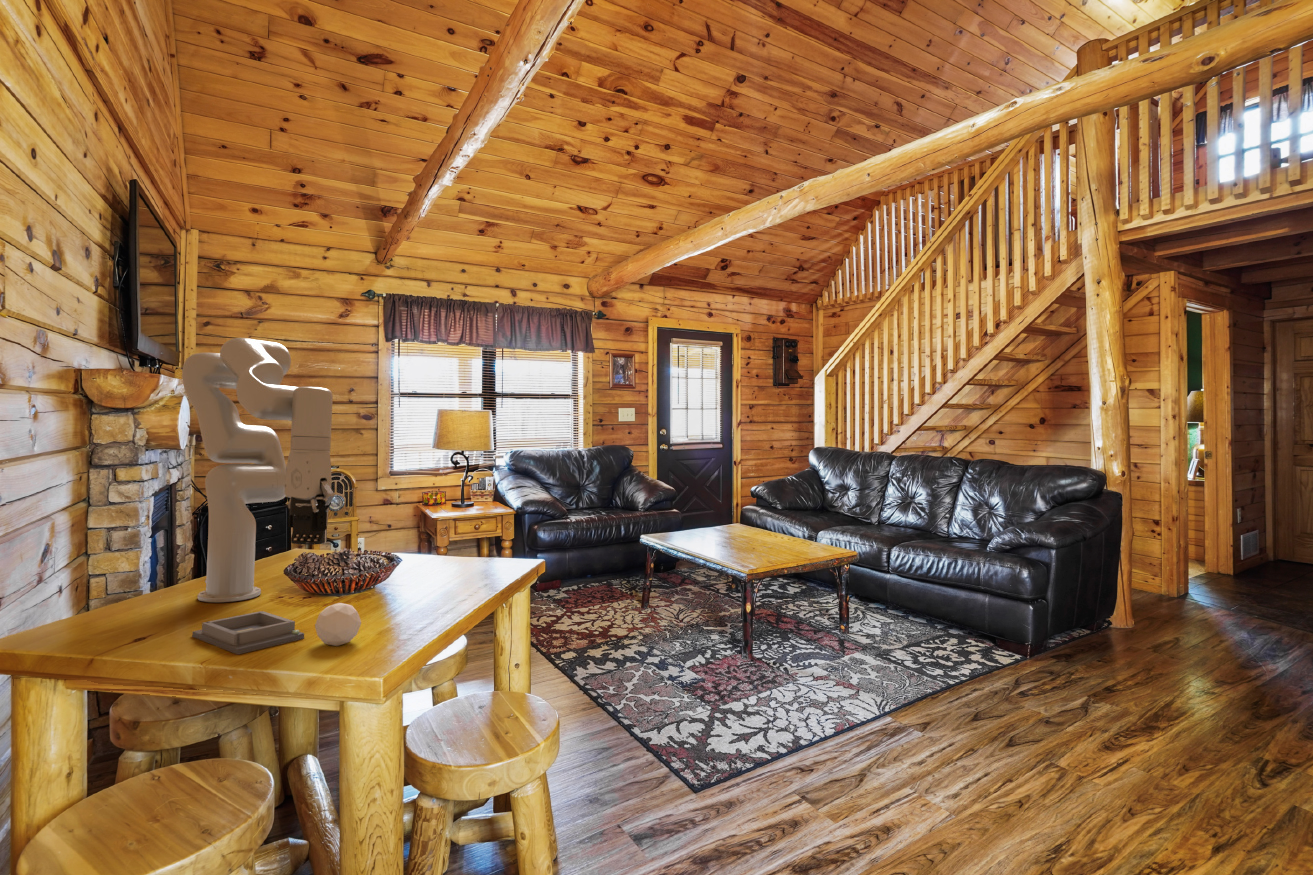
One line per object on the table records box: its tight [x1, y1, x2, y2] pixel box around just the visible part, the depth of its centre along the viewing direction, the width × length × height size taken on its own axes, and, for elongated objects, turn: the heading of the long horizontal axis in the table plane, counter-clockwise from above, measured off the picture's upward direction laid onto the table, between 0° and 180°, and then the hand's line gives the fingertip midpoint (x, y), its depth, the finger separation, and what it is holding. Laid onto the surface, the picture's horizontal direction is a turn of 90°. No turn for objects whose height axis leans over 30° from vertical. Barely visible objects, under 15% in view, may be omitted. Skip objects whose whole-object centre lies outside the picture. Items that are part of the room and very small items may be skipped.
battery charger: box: [290, 495, 329, 546], centre depth 138 cm, size 7×4×11 cm, turn 92°
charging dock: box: [191, 610, 305, 655], centre depth 125 cm, size 17×12×3 cm
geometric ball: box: [314, 602, 362, 647], centre depth 124 cm, size 8×8×8 cm
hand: (307, 528), depth 138 cm, fingers closed on battery charger, 7 cm apart
